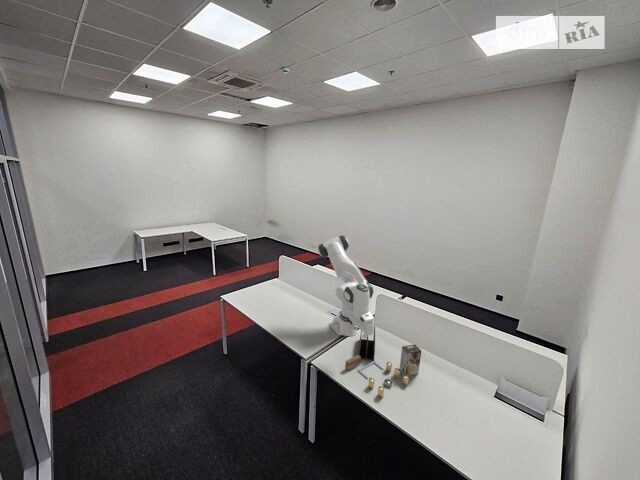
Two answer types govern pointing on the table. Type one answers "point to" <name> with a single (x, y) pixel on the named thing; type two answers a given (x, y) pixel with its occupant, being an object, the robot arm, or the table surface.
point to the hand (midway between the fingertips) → (359, 333)
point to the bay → (367, 366)
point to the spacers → (396, 376)
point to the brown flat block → (352, 363)
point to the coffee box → (410, 360)
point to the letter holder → (367, 348)
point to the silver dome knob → (388, 383)
